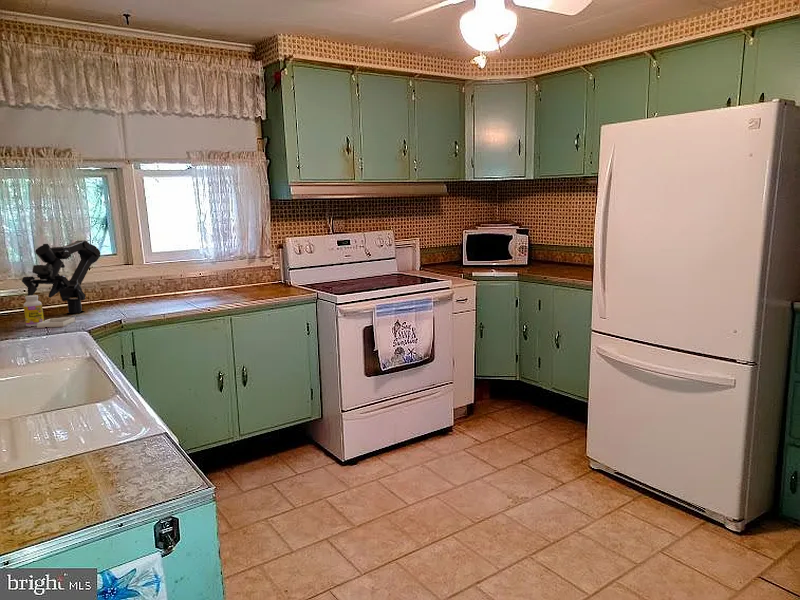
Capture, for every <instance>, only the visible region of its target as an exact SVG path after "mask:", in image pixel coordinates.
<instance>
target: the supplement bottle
mask: <svg viewBox="0 0 800 600" xmlns="http://www.w3.org/2000/svg"><path fill="white" fill-rule="evenodd" d="M24 299H25V302H24V303H23V311H24V320H25V321H24V322H25V326H26V327H31V326H34V327H37V323H39V322H42V321H45V318H44V310H43V309H44V308H43V303H42V301H40V300H39V295H38V294H37V295H36V294H33V295H31V296H28V295H25V297H24ZM31 328H32V327H31Z"/></svg>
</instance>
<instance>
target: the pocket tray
mask: <svg viewBox="0 0 800 600" xmlns="http://www.w3.org/2000/svg"><path fill="white" fill-rule="evenodd" d="M73 322H74V323H76V317H57V318H55V317H54V318H48V319H44V321H42V322H39V323H37V326H36V328H37V329H45V328H44V327H50V328H64V326H65V327H67V326H69V325H72V324H74V323H73ZM71 323H72V324H71ZM66 325H67V326H66Z"/></svg>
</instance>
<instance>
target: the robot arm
mask: <svg viewBox="0 0 800 600" xmlns="http://www.w3.org/2000/svg"><path fill="white" fill-rule="evenodd" d="M34 252H35V254H36V256H37V257H38V258H39V259H40V260H41V261H42V263H44V264H34V265H33V266H32V271H31V272H32V273H33V274H36V277H37V278H35V277H34V276H33V275H32V276H23V278H22V279H21V282H22V283H23V284H24V285H25V286H26V287H27V296H31V295H35V293H36V292H37V290H38V287H39V285H52V286H51V289H50V291H49V293H48V298H52V297H53V296H55V295H57V294H58V293H59V295H60V298H61V301H62V302H67V311H68V312H69V313H78V314H81V313H80V312H81V311H82V310H83V309H82V308H83V306H82V301H85V300H86V294H85V293H84V292H83V288H82V283H83V281H84V279H85V278H86V276H87V274H88V272H89V270H90V268H91V266H92V265H93V264H95V263H96V262H97V261H98V260H99V259H100V257H101V251H100V249H99V248H98V247H97V246H95V245H94V244H91V243H89V241H88V240H76V241H75V242H72V243H68V244H66V245H64V246H52V247H51V245H49V243H43V244H42V245H41V246H38V247H37V248H36V249H35V251H34ZM76 252H77V254H78V255H79V258H80V260H79V262H78V264H77V266H76V269H75V270H74V272H73V274H72V276H71V278H70V279H68V278H67V276H66V275H60V274H59V273H60V270H61V269H64V268H65V267H66V266H65V264H64V261H63V260H67V259H70V257H71V256H72V254H74V253H76Z"/></svg>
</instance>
